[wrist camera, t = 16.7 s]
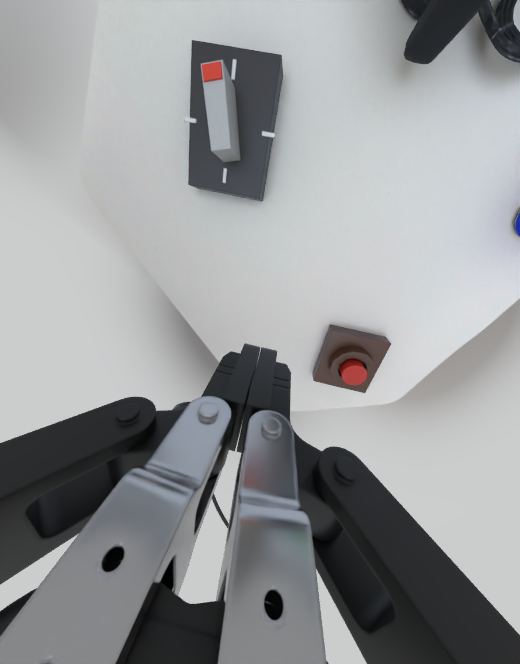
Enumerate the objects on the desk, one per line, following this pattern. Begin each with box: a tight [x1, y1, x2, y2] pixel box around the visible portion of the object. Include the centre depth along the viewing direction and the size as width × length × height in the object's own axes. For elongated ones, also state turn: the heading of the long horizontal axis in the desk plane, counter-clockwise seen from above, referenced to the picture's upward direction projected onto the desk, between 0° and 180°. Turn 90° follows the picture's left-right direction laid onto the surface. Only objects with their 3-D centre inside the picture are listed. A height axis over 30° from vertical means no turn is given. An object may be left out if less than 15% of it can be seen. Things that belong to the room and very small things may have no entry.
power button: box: [340, 359, 367, 385], centre depth 33 cm, size 4×4×2 cm
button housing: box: [313, 325, 391, 393], centre depth 35 cm, size 10×9×4 cm
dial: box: [201, 60, 240, 162], centre depth 22 cm, size 6×2×4 cm, turn 3°
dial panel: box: [184, 40, 283, 201], centre depth 25 cm, size 12×10×3 cm
